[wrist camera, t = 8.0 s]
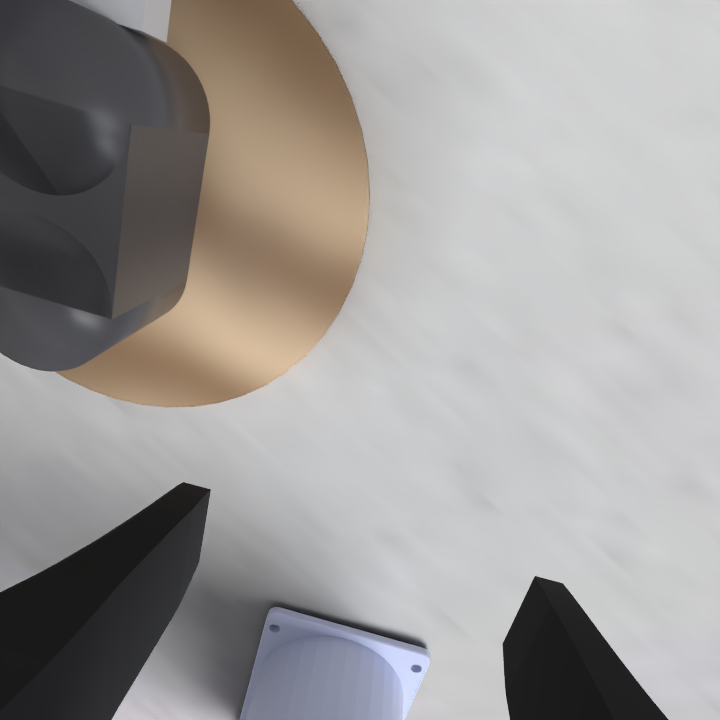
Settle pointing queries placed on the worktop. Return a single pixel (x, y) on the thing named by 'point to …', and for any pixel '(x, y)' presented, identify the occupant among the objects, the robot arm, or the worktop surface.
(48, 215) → the dark grey rounded block
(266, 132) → the round copper disc
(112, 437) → the worktop surface
